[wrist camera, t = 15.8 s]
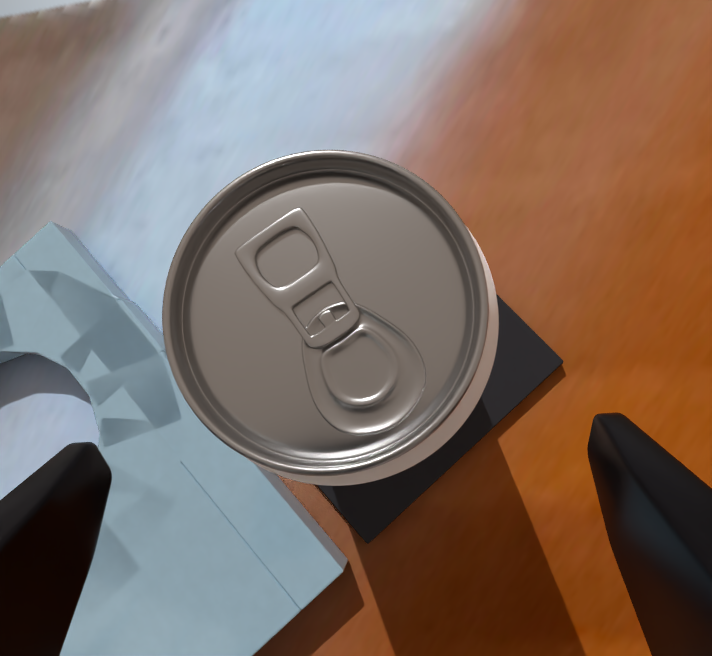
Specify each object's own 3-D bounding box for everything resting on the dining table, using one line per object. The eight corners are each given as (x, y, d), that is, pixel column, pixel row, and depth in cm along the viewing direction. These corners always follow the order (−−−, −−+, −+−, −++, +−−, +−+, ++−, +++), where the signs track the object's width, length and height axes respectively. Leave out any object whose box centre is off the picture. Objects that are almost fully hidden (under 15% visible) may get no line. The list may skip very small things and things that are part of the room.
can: (351, 477, 20) (262, 584, 9) (261, 337, 22) (73, 262, 10) (493, 381, 20) (600, 356, 9) (395, 244, 21) (370, 55, 10)
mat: (368, 541, 21) (367, 544, 20) (203, 349, 22) (199, 348, 22) (561, 362, 21) (564, 361, 20) (382, 183, 22) (382, 179, 22)
